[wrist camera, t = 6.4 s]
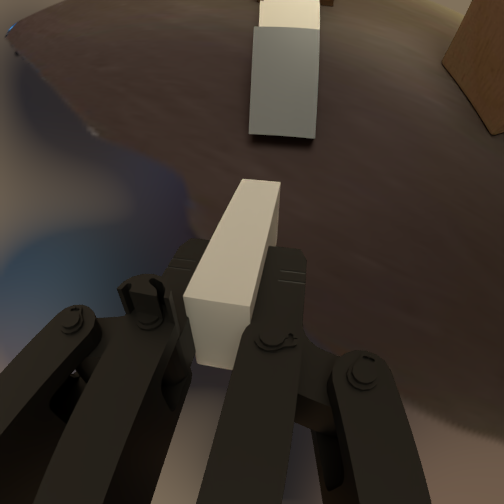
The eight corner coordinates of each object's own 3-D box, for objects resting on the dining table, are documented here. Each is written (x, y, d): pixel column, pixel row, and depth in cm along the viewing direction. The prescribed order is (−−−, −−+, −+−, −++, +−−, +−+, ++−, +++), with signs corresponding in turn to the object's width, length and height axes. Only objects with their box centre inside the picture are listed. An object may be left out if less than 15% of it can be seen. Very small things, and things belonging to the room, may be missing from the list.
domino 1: (314, 138, 21) (319, 29, 18) (248, 133, 22) (253, 26, 18) (313, 138, 23) (318, 36, 20) (252, 133, 24) (257, 33, 20)
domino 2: (317, 97, 22) (319, 3, 18) (256, 93, 23) (260, 0, 19) (316, 99, 24) (318, 10, 20) (259, 96, 24) (263, 8, 21)
